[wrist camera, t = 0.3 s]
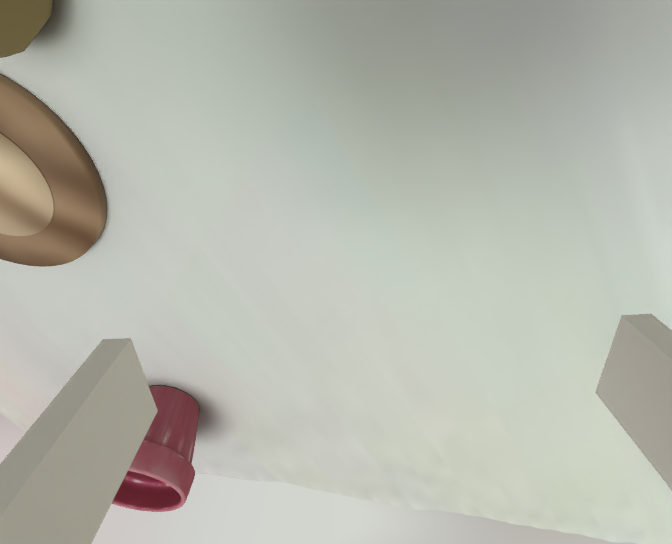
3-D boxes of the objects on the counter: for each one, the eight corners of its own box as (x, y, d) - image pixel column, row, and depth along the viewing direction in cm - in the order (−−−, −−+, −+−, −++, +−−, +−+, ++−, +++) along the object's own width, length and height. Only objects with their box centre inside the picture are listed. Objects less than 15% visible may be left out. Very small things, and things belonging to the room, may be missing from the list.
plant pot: (179, 435, 67) (144, 520, 57) (104, 394, 60) (51, 481, 51) (235, 411, 60) (207, 502, 50) (158, 361, 54) (109, 455, 44)
